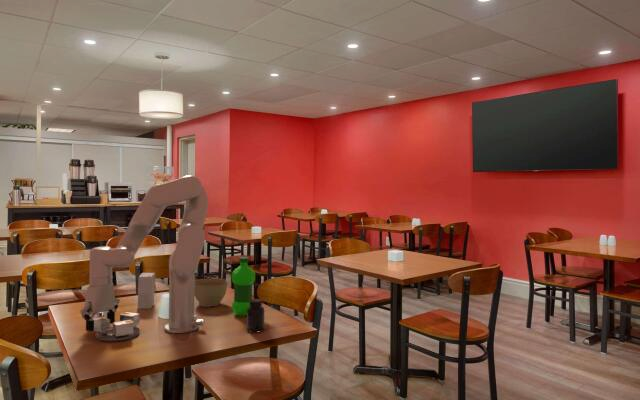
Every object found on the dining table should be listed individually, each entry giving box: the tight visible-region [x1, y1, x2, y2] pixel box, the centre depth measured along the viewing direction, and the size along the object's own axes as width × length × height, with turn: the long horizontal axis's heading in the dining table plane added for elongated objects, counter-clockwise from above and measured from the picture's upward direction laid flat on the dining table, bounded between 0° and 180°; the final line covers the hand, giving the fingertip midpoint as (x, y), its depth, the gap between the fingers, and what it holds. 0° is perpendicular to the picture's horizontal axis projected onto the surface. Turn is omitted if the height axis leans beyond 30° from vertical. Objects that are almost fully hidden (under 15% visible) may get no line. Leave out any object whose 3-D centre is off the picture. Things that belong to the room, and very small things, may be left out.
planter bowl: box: [194, 278, 229, 308], centre depth 214 cm, size 16×16×11 cm
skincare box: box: [137, 272, 156, 310], centre depth 208 cm, size 8×6×15 cm
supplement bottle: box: [246, 298, 265, 332], centre depth 179 cm, size 7×7×12 cm
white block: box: [93, 316, 111, 333], centre depth 168 cm, size 4×6×5 cm, turn 58°
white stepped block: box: [119, 311, 140, 327], centre depth 175 cm, size 4×6×5 cm, turn 71°
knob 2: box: [112, 320, 133, 337], centre depth 165 cm, size 4×6×5 cm, turn 131°
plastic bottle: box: [231, 256, 256, 316], centre depth 199 cm, size 10×10×25 cm
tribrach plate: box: [94, 326, 141, 343], centre depth 170 cm, size 15×15×2 cm
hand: (100, 326), depth 168 cm, fingers open, 9 cm apart
